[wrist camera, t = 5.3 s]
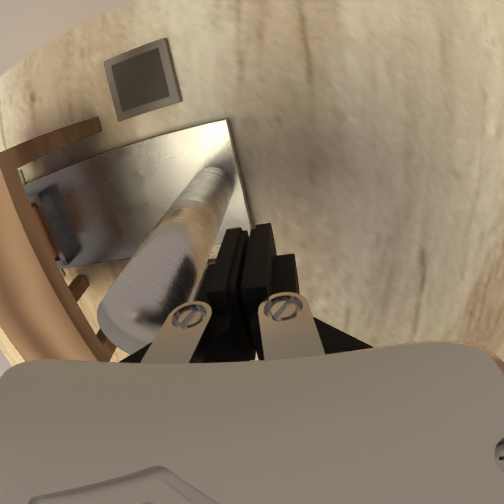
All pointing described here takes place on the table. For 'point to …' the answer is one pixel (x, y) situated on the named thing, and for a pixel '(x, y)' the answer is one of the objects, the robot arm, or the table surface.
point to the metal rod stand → (146, 221)
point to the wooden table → (32, 240)
